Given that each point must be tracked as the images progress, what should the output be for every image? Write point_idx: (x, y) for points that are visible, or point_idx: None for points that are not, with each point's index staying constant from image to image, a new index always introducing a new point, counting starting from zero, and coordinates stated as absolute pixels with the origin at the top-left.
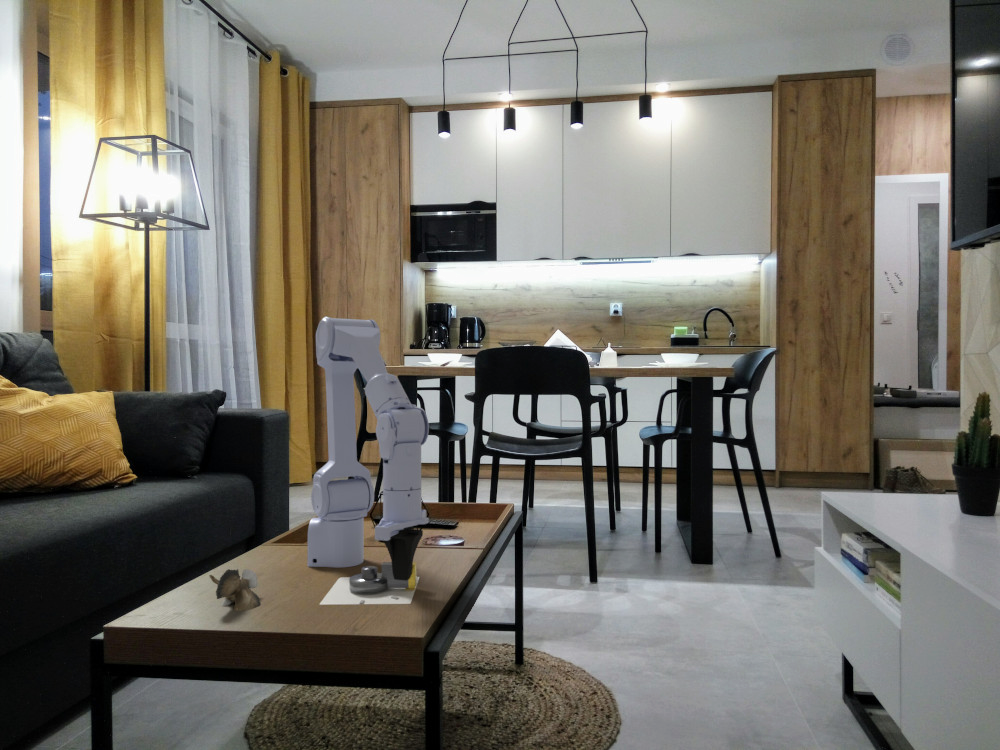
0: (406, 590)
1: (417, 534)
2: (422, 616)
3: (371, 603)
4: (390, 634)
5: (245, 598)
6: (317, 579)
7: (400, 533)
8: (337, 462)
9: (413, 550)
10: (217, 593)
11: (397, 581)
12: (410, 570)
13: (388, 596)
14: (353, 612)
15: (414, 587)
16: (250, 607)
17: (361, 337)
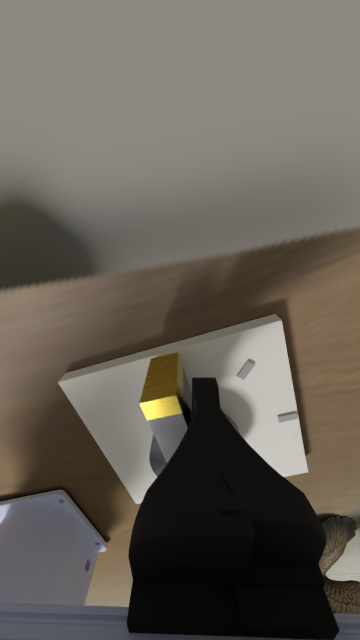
0: None
1: (252, 526)
2: (313, 269)
3: (290, 398)
4: None
5: (334, 560)
6: (129, 522)
7: (324, 603)
8: None
9: (216, 442)
10: None
11: (190, 400)
12: (204, 390)
13: (233, 386)
14: (298, 412)
15: (178, 354)
16: (337, 537)
17: None
